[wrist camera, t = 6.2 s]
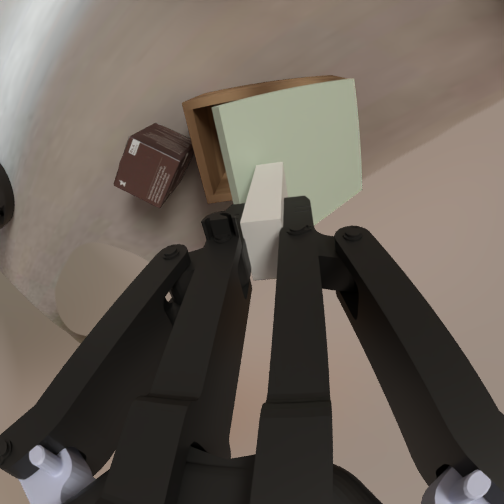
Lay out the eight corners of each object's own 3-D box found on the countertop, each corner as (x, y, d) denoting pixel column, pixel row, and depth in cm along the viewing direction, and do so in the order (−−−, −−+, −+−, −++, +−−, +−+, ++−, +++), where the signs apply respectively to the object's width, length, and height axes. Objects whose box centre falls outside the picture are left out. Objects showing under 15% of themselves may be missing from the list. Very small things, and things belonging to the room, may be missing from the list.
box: (180, 183, 37) (159, 210, 31) (139, 163, 35) (111, 186, 29) (200, 141, 33) (181, 161, 27) (155, 120, 32) (128, 135, 26)
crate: (222, 174, 36) (207, 203, 29) (203, 93, 30) (181, 102, 23) (340, 160, 33) (355, 186, 27) (331, 75, 28) (346, 78, 21)
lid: (248, 266, 20) (254, 269, 19) (211, 107, 14) (218, 106, 14) (356, 188, 26) (362, 189, 26) (347, 78, 21) (354, 78, 20)
